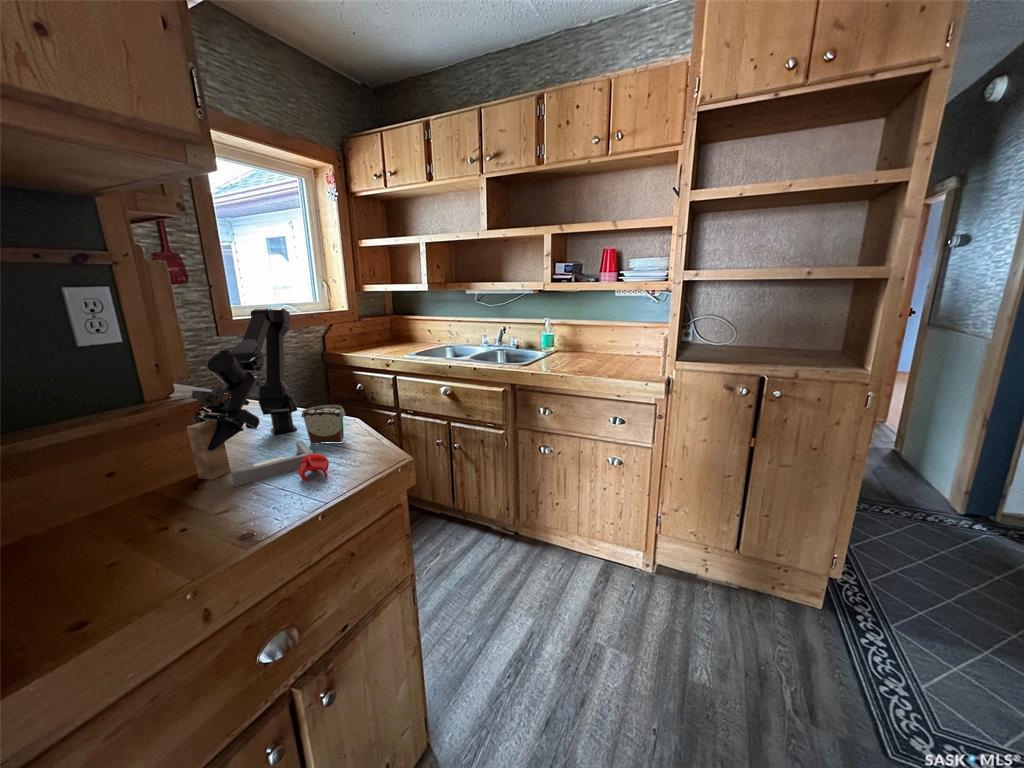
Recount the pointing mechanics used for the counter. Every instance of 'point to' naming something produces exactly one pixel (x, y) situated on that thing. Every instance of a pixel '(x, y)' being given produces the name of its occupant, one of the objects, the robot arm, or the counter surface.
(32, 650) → the counter surface
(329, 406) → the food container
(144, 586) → the counter surface
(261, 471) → the grey long angled bar
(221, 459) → the walnut block
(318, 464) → the cap
